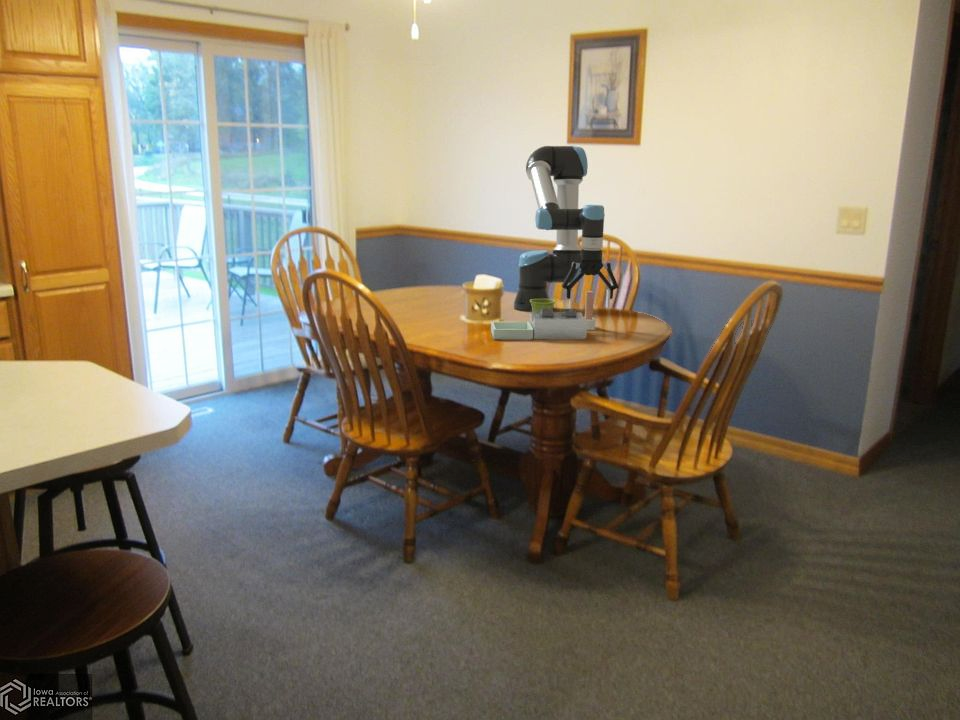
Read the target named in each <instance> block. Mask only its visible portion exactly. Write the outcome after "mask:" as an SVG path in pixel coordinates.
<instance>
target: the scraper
mask: <svg viewBox="0 0 960 720" xmlns="http://www.w3.org/2000/svg"><path fill="white" fill-rule="evenodd" d="M594 292H595V291H592V290H586V291H585V303H584V305H585V306H584V317H583V316H582V318H587V331H588V330H589V331H592V330H593V331H594V330H596V320H595V318H594V317H593V315H594V295H595V293H594Z"/></svg>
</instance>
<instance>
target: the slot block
mask: <svg viewBox="0 0 960 720" xmlns="http://www.w3.org/2000/svg"><path fill="white" fill-rule="evenodd" d="M582 317H583V313H582V312H579V311H577V318H574V317H563V311H562V312H560V311H559V312H555V311H554V317H541V312H532V311H530V321H529V323H530V325H531V326H532V328H533V340H587V332H588V330H587V318H582Z"/></svg>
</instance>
